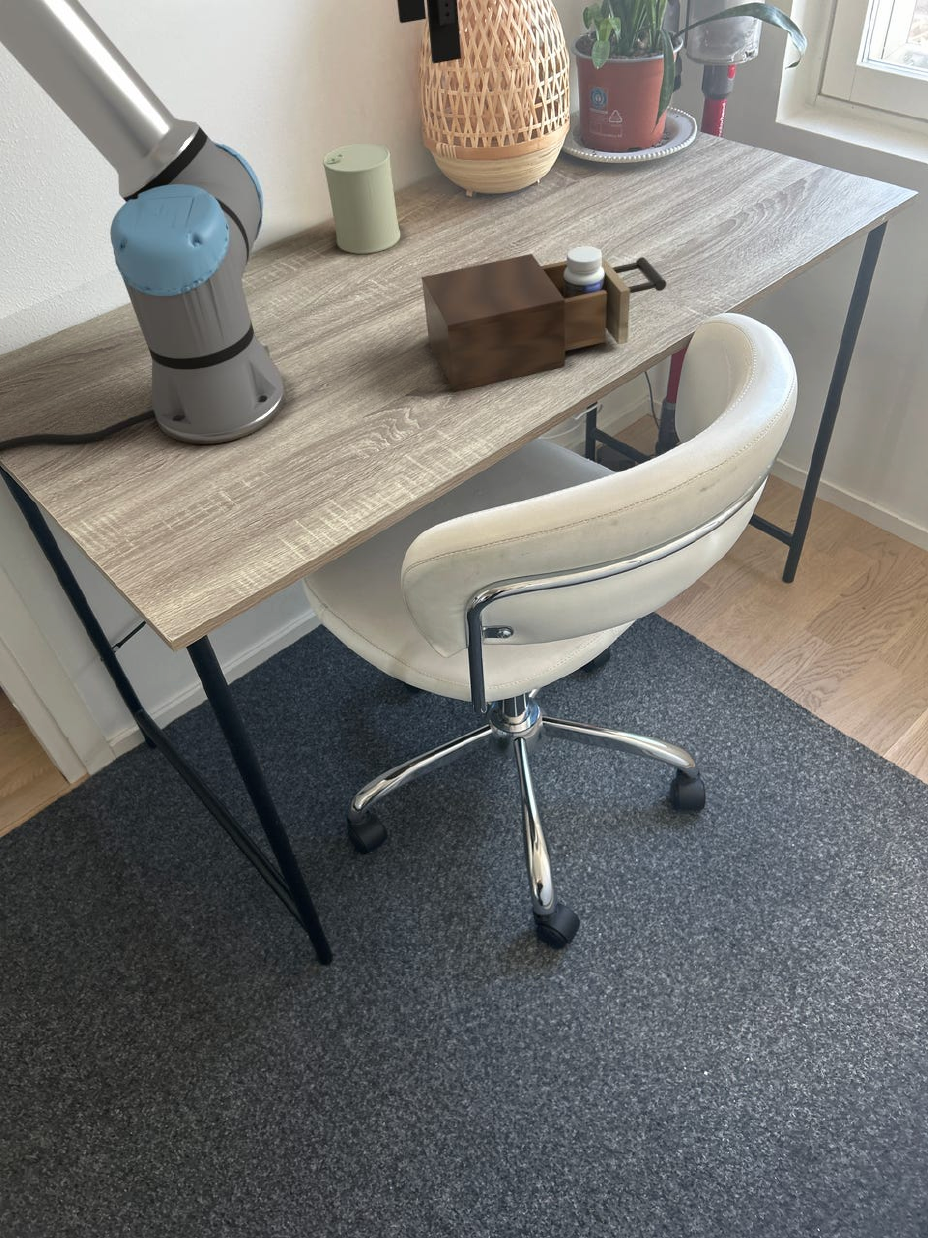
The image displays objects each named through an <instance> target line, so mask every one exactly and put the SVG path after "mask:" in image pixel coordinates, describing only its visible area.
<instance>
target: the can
mask: <svg viewBox="0 0 928 1238" xmlns="http://www.w3.org/2000/svg"><path fill="white" fill-rule="evenodd" d="M390 156H391V155H390V151H389V149H388V148H386V147H385V146H383V145H381V144H375V143H369V142H367V143H366V142H365V143H364V142H363V143H352V144H347V145H343V146H340V147H337V148H335V149H333V150H331V151H329V152H328V153H326V154H325V156H324V157H323V160H322V164H323V168H324V173H325V177H326V183H327V188H328V193H329V194H328V195H329V198H330V204H331V211H332V217H333V221H334V229H335V234H336V244H337V246H338V248H340V250H342V251H344V252H347V253H351V254H356V255H357V254H358V255H359V254H360V255H365V254H366V255H368V254H373V253H375V254H376V253H378V252H381V251H385V250H387V249H389V248H392V247H393V246H395V245H396V244H397V243H398V242H399V241H400V238H401V231H400V228H399V221H398V215H397V214H398V213H397V207H396V200H395V192H394V186H393V176H392V167H391V159H390V158H391V157H390Z"/></svg>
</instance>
